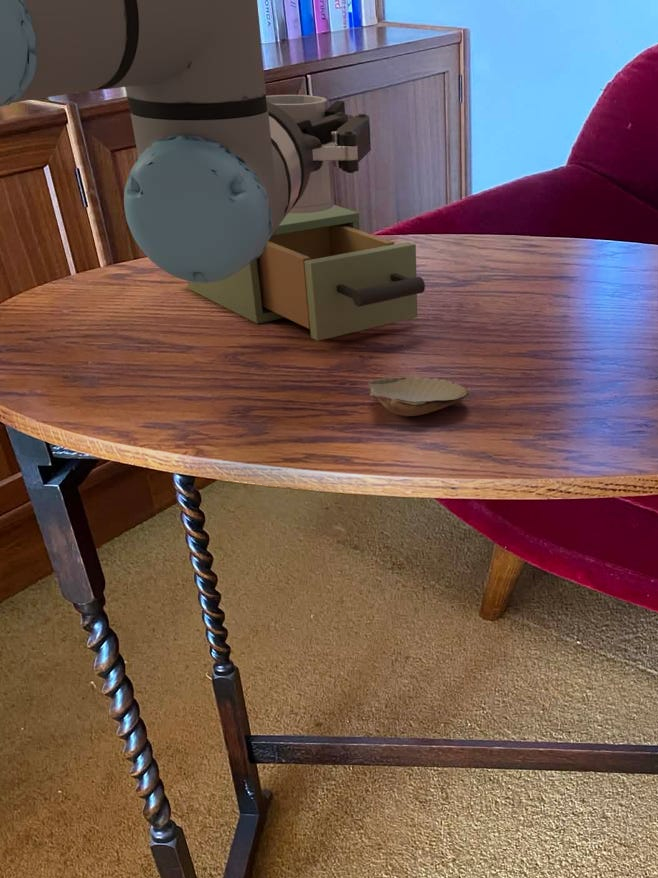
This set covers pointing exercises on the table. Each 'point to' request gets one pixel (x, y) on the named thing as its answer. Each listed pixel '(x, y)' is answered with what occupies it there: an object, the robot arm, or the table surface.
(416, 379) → the seashell
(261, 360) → the table surface
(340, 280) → the drawer
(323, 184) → the canister
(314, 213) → the cabinet
